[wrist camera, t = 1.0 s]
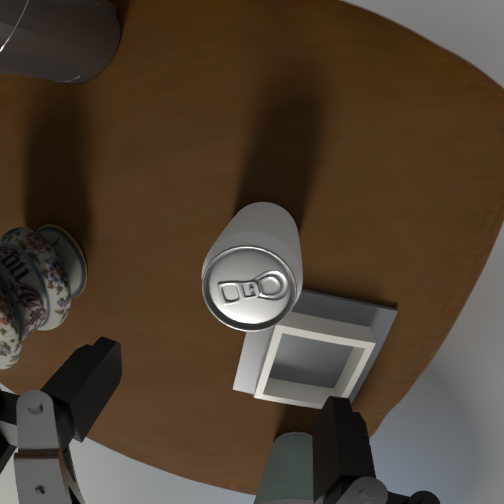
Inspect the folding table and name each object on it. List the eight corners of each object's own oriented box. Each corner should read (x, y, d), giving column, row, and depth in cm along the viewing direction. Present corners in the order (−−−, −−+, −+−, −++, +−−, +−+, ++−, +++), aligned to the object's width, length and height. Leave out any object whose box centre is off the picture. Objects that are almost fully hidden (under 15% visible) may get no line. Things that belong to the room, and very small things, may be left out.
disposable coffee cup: (285, 466, 41) (279, 544, 27) (242, 436, 39) (225, 523, 25) (343, 444, 38) (350, 529, 24) (304, 410, 36) (305, 509, 22)
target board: (259, 279, 31) (255, 295, 28) (396, 308, 30) (406, 326, 27) (233, 386, 36) (228, 406, 33) (347, 405, 36) (351, 425, 32)
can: (303, 260, 30) (311, 329, 19) (238, 272, 31) (211, 342, 20) (290, 194, 28) (293, 227, 17) (222, 208, 29) (181, 249, 18)
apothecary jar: (17, 227, 33) (-86, 277, 16) (76, 204, 31) (-53, 259, 14) (46, 308, 36) (-37, 382, 19) (108, 302, 34) (15, 399, 17)
